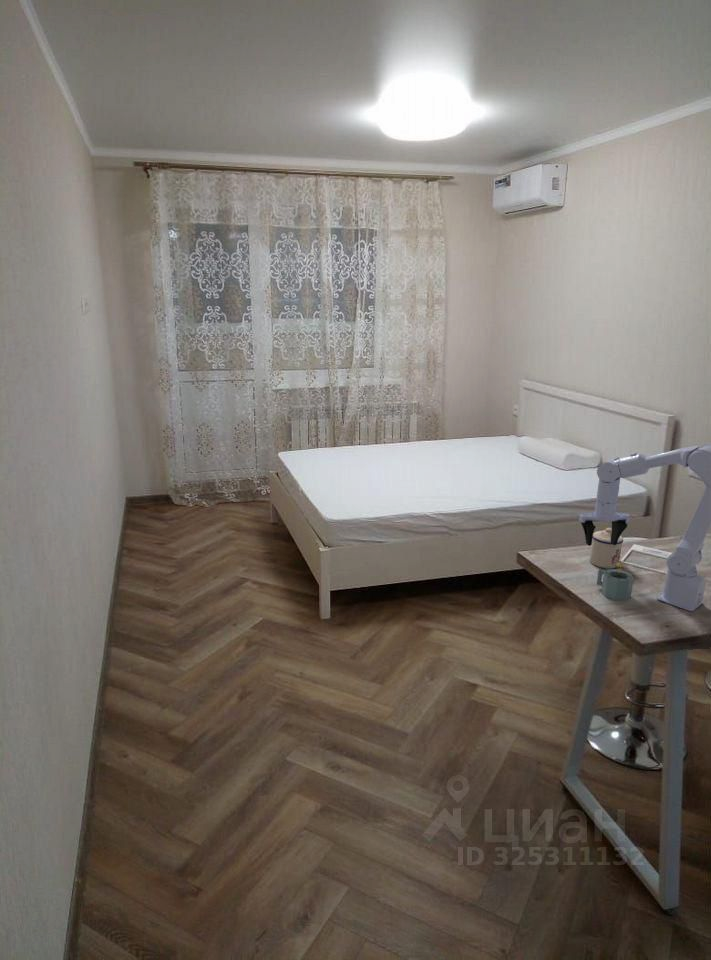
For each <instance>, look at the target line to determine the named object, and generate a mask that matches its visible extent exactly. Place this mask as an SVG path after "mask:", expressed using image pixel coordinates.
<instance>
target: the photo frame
mask: <svg viewBox="0 0 711 960" xmlns="http://www.w3.org/2000/svg"><path fill="white" fill-rule="evenodd" d="M632 552H636V553H639V554H644V555H648V556H652V557H655V558H659V559H660V558H661V559H665V560H667V559H668V557H669V556H670V555H671V554H672V553H673V552H669V551H667V550H666V551H664V550H661V549H656V548H651V547H649V546H648V547H647V546H645V545H639V544H635V543H634V544H633V545H632V546H631V548H629V549H628V551H627V552H626V553H625V554H624V555H623V557H622V558H620V561H621V562H624V563H626V565H627V566H631V567H635V568H639V569H642V570H647V571H651V572H654V573H659V574H662V575H666V576H667V571H664V570H659V569H656V568H652V567H646V566H643V565H640V564H636V563H631V562H627V561H625V560H626V559H627V557H628V556H629V555H630V554H631V553H632Z"/></svg>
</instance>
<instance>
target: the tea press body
mask: <svg viewBox="0 0 711 960" xmlns="http://www.w3.org/2000/svg"><path fill="white" fill-rule="evenodd" d="M597 572H598V573H597V579H596V585H598V586H601V589H600V590H601V591H600V592H601V593H602V594H603V596H604V597H606V598H608V599H609V600H610V599H611V600H613V601H628V600H630V599H631V598H632V591H633V585H634V579H635V577H634V576H633V574H631V573H630V572H627V571H624V570H622V569H621V574H620V577H622V578H624V579H618V578H615V577H613V576H617V575H618V569H613V568H608V569H607V570H604V569H601V568H600V569H598V571H597Z"/></svg>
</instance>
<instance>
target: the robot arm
mask: <svg viewBox="0 0 711 960" xmlns="http://www.w3.org/2000/svg"><path fill="white" fill-rule="evenodd" d="M676 464H678V465H680V466H681V467H684V468H687V467H689V469H690V470H691V471H692V472H693V474H695V475H697V477H699V478H700V479H701V480H702V481H703V483H704V485H705V488H704V492H703V493H702V496H701V498H700V500H699V503H698V504H697V507H696V509H695V511H694V513H693V515H692V517H691V520H690V522H689V524H688V526H687V529H686V531H685V533H684V535H683V537H682V539H681V541H680V542H679V543H678V544H677V547H676V549H675V550H674V552H671V553H672V554H671V555H670V556H669V557H668V559H666V566H667V571H666V572H667V575H666V577H665V582H664V589H663V593H662V594H660V595H658V596H657V598H656V600H658V601H661V602H664V603H667V604H669V605H672V606H675V607H678V608H681V609H684V610H686V611H688V612H694V611H695V610H696V609H697V608H698V607H700V606H701V605H702V604H703V603H704V602H703V600H704V593H705V588H706V585H707V584H706V583H707V581H706V580H707V579H706V578H705V577H703V576H701V575H700V574H698V570H697V567H696V565H698V564H700V563H701V561H702V557H703V555H702V550H703V547H704V542H705V539H706V537H707V536H708V533H709V531H710V529H711V443H708V444H704V445H702V446H701V445H694V446H688V447H687V446H686V447H682V448H677V449H674V450H670V451H666V452H662V453H659V454H658V453H657V454H654V455H650V456H647V455H645V454H643V453H638V452H633V453H630V455H629V456H624V457H619V456H617V457H614V458H613V459H609V460H607V461H605V462H602V463H600V465H598V467H597V469H596V474H597V475H596V476H597V477H598V483H597V484H598V485H597V491H596V500H595V506H594V512H589V513H588V512H587V513H583V514H580V513H579V517H578V521H579V522H580V524H581V526H582V529H583V532H584V537H585V544H586V545H587V546H589V547H590V546H591V547H592V540H593V538H592V537H593V533H595V529H596V526H595V525H594V523H595V522H596V523H597V522H611V529H612V533H611V543H612V544H613V545H616V544H617V541H618V539H619V537H620V536H622V534H623V532H624V531H625V530H626V529H627V528H628V523H629V522H630V519H631V515H629V514H628V513H620V512H617V508H618V507H617V505H618V498H619V492H620V482H621V479H626V478H630V477H636V476H641V475H645V474H647V473H648V472H649V470H650V469H653V468H658V467H665V466H668V465H669V466H670V465H676Z"/></svg>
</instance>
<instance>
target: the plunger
mask: <svg viewBox="0 0 711 960" xmlns="http://www.w3.org/2000/svg"><path fill="white" fill-rule="evenodd" d="M624 562H625V561H624ZM624 562H621V560H619V561H617V562H616V564H615V566H616V569H617V568H618V569H617V570H618V575H617V576H613V577H615V578H618V579H624V578H622V577H620V574H621V570H622V569H625V568H626V563H624Z"/></svg>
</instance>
